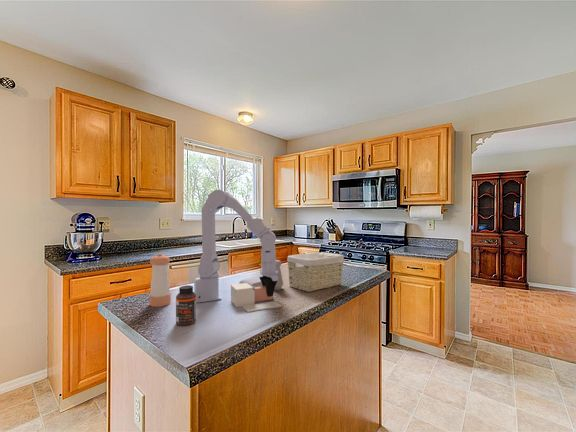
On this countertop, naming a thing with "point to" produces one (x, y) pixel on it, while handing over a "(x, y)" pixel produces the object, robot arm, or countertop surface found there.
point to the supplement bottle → (185, 306)
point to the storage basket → (315, 270)
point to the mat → (261, 306)
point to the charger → (252, 282)
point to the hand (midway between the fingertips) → (268, 295)
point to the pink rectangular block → (261, 294)
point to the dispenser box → (242, 294)
